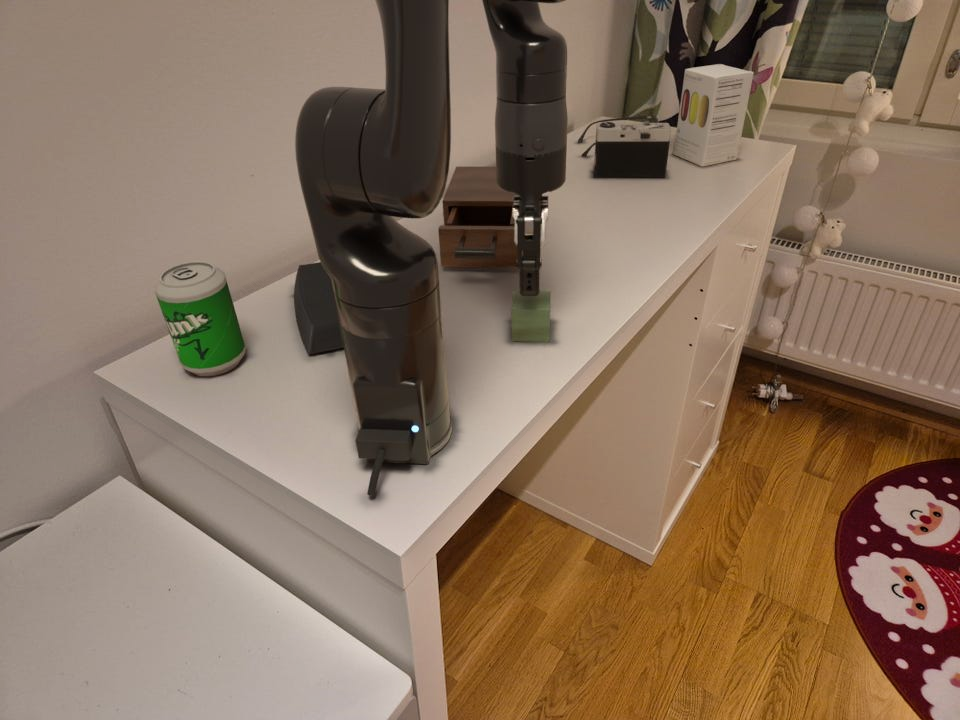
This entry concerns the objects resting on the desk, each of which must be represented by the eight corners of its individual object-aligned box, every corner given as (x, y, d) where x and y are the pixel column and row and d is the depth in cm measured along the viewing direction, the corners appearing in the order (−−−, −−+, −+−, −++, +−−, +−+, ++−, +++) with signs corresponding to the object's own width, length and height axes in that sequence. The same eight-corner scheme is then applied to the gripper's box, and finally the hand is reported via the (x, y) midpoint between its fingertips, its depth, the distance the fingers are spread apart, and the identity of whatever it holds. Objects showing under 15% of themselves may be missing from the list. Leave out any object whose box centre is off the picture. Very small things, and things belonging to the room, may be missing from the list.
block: (549, 342, 80) (550, 309, 78) (511, 341, 81) (511, 308, 78) (549, 322, 84) (550, 290, 81) (513, 321, 84) (513, 290, 82)
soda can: (225, 338, 84) (199, 252, 77) (260, 358, 79) (236, 269, 73) (170, 365, 79) (137, 276, 72) (205, 388, 75) (173, 296, 68)
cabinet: (526, 249, 102) (527, 200, 98) (445, 248, 103) (442, 200, 99) (530, 210, 115) (531, 166, 111) (458, 209, 116) (456, 166, 112)
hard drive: (380, 272, 97) (377, 246, 95) (408, 338, 82) (405, 310, 80) (291, 287, 94) (285, 261, 92) (302, 359, 79) (296, 330, 77)
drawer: (517, 286, 90) (517, 247, 87) (434, 285, 91) (431, 246, 88) (524, 227, 107) (525, 191, 103) (454, 226, 108) (452, 191, 105)
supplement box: (671, 154, 137) (682, 68, 128) (706, 147, 140) (720, 62, 131) (702, 167, 130) (716, 76, 121) (738, 159, 133) (755, 70, 124)
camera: (666, 165, 132) (672, 114, 126) (665, 182, 125) (671, 129, 119) (596, 162, 135) (599, 112, 129) (591, 179, 128) (594, 127, 122)
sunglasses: (576, 138, 149) (577, 115, 146) (651, 136, 148) (654, 113, 145) (582, 161, 136) (584, 137, 133) (665, 160, 135) (668, 135, 132)
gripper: (499, 121, 75) (502, 250, 85) (490, 163, 64) (494, 307, 73) (565, 120, 74) (561, 250, 84) (568, 162, 63) (562, 308, 72)
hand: (530, 276), depth 78 cm, fingers open, 8 cm apart
